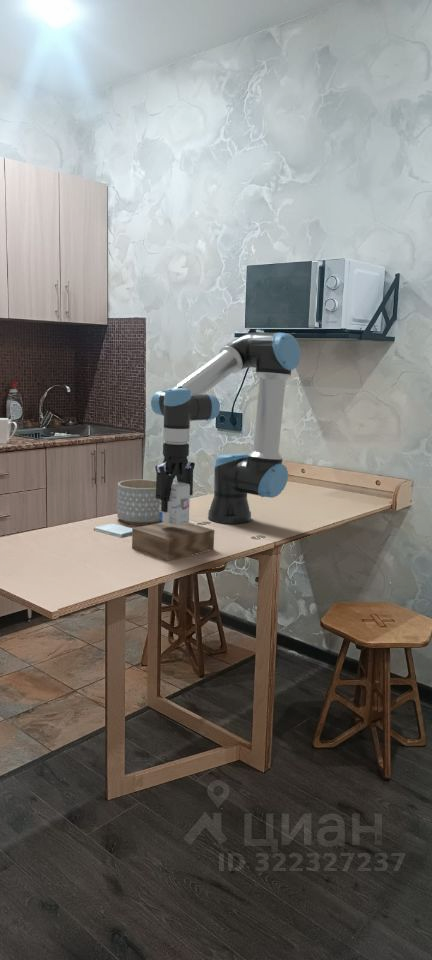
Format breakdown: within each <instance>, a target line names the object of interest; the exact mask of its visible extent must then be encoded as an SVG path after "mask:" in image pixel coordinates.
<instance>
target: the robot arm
mask: <svg viewBox="0 0 432 960" xmlns="http://www.w3.org/2000/svg"><path fill="white" fill-rule="evenodd" d="M300 361H301V349H300V345H299V343H298V341H297V339H296V338H295V336H293V335H292V334H291V333H287V332H286V333H285V332H249V333H246V334H244V335H241V336H239V337H237V338H235V339H234V340H232V341H231V342H229V343H227V344H225V345H224V346H223V347H222V348H221V349H220V350H219V353H218V354H217V355H215V357H213V358H211V359H210V360H209V361H207V362H206V363H205V364H203V365H202V366H200V367H199V368H198V369H196V370H195V371H194V372H192V373H191V374H190V375H188V376H186V377H185V378H184V379H183V380H180V382H178V383H177V384H175V385H174V386H172V387H170V388H166V389H165V390H158V391H156V392H155V393H153V395H152V397H151V399H150V407H151V410H152V411H153V412H154V414H156V415H157V416H163V433H162V435H163V436H162V438H163V440H162V441H164V442H163V443H162V455H163V461H162V463H161V464H160V465H159V464H156V465H155V467H154V468H155V473H156V475H155V476H156V479H155V481H156V498H157V499H160V500H161V511H162V512H163V517H162V521H161V523H162V522H165V523H168V524H169V523H170V521H171V501H169V497H170V493H171V485H172V484H173V480H174V479H176V481H178V482H182V483H187V484H189V485H190V496H193V493H194V470H195V465H196V463H195V462H192V461H189V460H188V457H189V455H190V444H189V442H190V432H191V431H190V429H191V427H190V425H191V422H193V421H196V422H197V421H206V422H207V421H210V420H214V419H216V418H217V417H218V416H219V414H220V411H221V403H220V401H219V400H220V399H218V397H216V395H213V394H207V392H209V391H210V390H211V389H212V388H214V387H216V385H218V384H219V383H221V382H222V381H224V380H225V379H226V378H227V377H229V376H230V375H231V374H233V373H234V374H235V373H239V372H241V370H243V369H250V368H255V374H256V375H257V376H258V378H259V380H258V381H259V383H258V394H257V403H256V404H257V405H256V413H255V423H254V425H255V426H254V435H253V436H254V437H253V447H252V451H251V452H249V453H228V454H219V455H217V456H216V458H215V464H214V477H213V478H214V484H213V486H214V487H213V499H212V501H211V505H210V508H209V510H208V513H207V516H208V517H207V519H208V520H210V521H212V522H215V523H219V524H220V523H221V524H231V525H232V524H233V525H234V524H238V525H239V524H244V523H248V522H250V521H251V520H252V512H251V509H250V506H249V501H248V495H255V496H259V497H262V498H271V499H272V498H276V497H277V496H279V495H280V494H281V493H282V492H283V491H284V490H285V488H286V486H287V483H288V478H289V471H288V470H287V469H288V468H287V467H286V465H285V464H283V457H282V456H281V454H280V452H279V450H280V440H281V431H282V420H283V412H284V411H283V409H284V401H285V390H286V381H287V380H288V379H289V378H290V377H291V375H292V371H293V370H295V369H296V368H297V367H298V365H299V364H300Z"/></svg>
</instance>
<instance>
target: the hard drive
mask: <svg viewBox="0 0 432 960" xmlns="http://www.w3.org/2000/svg"><path fill="white" fill-rule="evenodd" d="M132 528H133V527H129V526H125V525H121V524H116V523H107V524H102V525H99V526H95V527H94V528H93V531H95V530H96V532H99V533H102V532H103V534H107V535H110V536H114V537H118V538H125V537H129V536H132Z"/></svg>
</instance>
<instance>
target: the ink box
mask: <svg viewBox="0 0 432 960" xmlns="http://www.w3.org/2000/svg"><path fill="white" fill-rule="evenodd" d="M190 499H191V495H190V485H189V484H187V483H182V482H178V481H177V480H174V479H173V484H172V485H171V493H170V497H169V501H171V521H170V524H173V525H176V526H179V525H184V524H189V523H190V501H191V500H190ZM162 517H163V512H162V511H161V500H160V501H159V520H160V522H162Z"/></svg>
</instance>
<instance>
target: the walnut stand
mask: <svg viewBox="0 0 432 960" xmlns="http://www.w3.org/2000/svg"><path fill="white" fill-rule="evenodd" d="M131 528H132V535H131V537H132V538H131V539H132V540H131V549H134V550H137V551H140V552H143V553H145V554H148V555H152V556H154V557H156V558H160V559H163V560H165V561H168V562H169V561H173V560H177V559H180V558H181V559H182V558H186V557H188V556H193V555H197V554H196V553H198V554H201V552H202V553H205V551H206V552H209V551H214V550H215V549H214V548H215V547H214V546H215V529H211V528H209V527H205V526H203V525H199V524H195V523H192V522H189V524H184V525H179V526H176V525H173V524H170V523H169V524H168V523H165V522H162V521H161V522H158V523H155V524H149V525H142V526H141V525H140V526H137V527H131ZM192 554H193V555H192Z"/></svg>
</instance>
